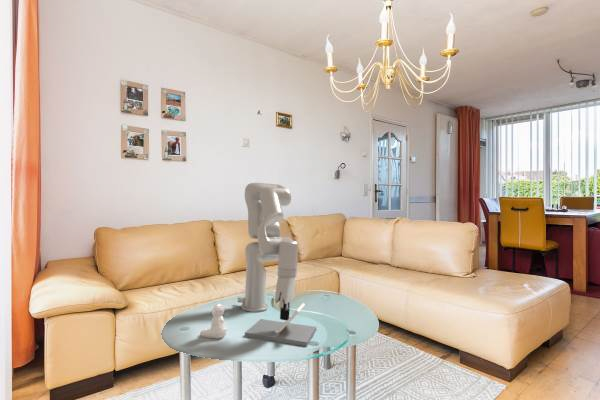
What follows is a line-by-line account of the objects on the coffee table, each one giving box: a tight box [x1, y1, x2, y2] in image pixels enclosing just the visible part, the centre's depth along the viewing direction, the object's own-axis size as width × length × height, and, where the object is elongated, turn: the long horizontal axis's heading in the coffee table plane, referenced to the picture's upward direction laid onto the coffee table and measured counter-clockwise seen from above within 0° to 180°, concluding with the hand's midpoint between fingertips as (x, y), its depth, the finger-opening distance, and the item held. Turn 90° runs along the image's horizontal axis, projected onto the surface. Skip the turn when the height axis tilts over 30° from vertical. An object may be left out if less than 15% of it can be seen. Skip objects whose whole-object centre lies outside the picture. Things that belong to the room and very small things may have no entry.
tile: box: [278, 302, 306, 333], centre depth 127 cm, size 11×10×1 cm
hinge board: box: [244, 318, 317, 347], centre depth 128 cm, size 24×16×3 cm, turn 75°
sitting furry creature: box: [199, 303, 228, 340], centre depth 123 cm, size 10×9×12 cm
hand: (284, 319), depth 128 cm, fingers closed
